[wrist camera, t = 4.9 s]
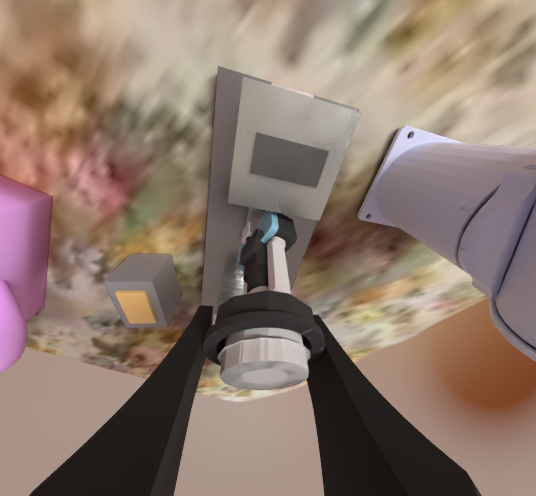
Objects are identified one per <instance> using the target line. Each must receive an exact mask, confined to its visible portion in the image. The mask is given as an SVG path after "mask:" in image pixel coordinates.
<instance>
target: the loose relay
mask: <svg viewBox="0 0 536 496" xmlns="http://www.w3.org/2000/svg"><path fill="white" fill-rule="evenodd" d="M103 283H104V285H105V287H106V289H107V291H108V293H109V295H110V297H111V299H112V301H113V303H114V305H115V307H116V309H117V311H118V313H119V315H120V317H121V319H122V321H123V323H124V325H125V327H126V328H151V327H168V326H169V323H170V321H171V319H172V317H173V314H174V312H175V310H176V308H177V305H178V303H179V301H180V299H181V296H182V294H181V290H180V286H179V282H178V278H177V274H176V270H175V266H174V262H173V258H172V254H130V255H129V256H128V257H127V258H126V259H125V260H124V261H123V262H122V263H121V264H120V265H119V266H118V267H117V268H116V269H115V270H114V271H113V272H112V273H111V274H110V275H109V276H108V277H107V278H106V279H105V280H104V281H103Z"/></svg>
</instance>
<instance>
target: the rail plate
mask: <svg viewBox="0 0 536 496" xmlns="http://www.w3.org/2000/svg"><path fill="white" fill-rule="evenodd" d="M360 115H361V112H359V109H356V108H353V107H350V106H346V105H343V104H340V103H337V102H333V101H330V100H327V99H324V98H320V97H317V96H314V95H311V94H307V93H304V92H301V91H298V90H294V89H291V88H288V87H285V86H281V85H278V84H275V83H272V82H268V81H265V80H262V79H259V78H255V77H252V76H249V75H246V74H242V73H239V72H236V71H233V70H229V69H226V68H223V67H220V66H218V73H217V88H216V102H215V116H214V130H213V144H212V158H211V172H210V187H209V201H208V215H207V229H206V243H205V257H204V271H203V286H202V300H201V305H205V306H213V316H212V319H213V325H214V324H215V321H216V316H217V311H218V307H219V306H220V305H221V304H223V303H224V302H226V301H227V300H228V299H230V298H231V297H233V296H238V295H243V284H244V280H243V277H240V276H238V275H235V274H234V273H235V271H236V270H237V269H238V268H236V266H235V265H236V264H237V262H238V254H239V248H240V246H241V244H242V242H241V241H242V231H243V229H244V228H245V226H246V225H247V223H248V222H250V230H249V231H250V232H251V231H252V229H253V228H254V227H255V225H256V224H257V223H258V221H259V220H260V219H261V217H262V216H263V215H264V213H265V211H266V210H267V211H272V212H277V213H282V214H284V215H285V216H287V217H289V218H290V219H292V220H293V222H294V226H295V230H296V234H297V241H296V242H295V243H294V245H293V246H292V247H291V248H290V249H289V250H288V251H287V252H286V253H285V254H286V261H287V271H288V277H289V284H290V291H291V289H292V287H293V284H294V281H295V279H296V276H297V273H298V271H299V268H300V265H301V263H302V260H303V257H304V255H305V252H306V250H307V247H308V244H309V242H310V239H311V236H312V234H313V231H314V228H315V226H316V223H317V221H320V218H321V216H322V213H323V211H324V208H325V205H326V203H327V200H328V198H329V195H330V192H331V190H332V187H333V185H334V182H335V180H336V177H337V174H338V172H339V169H340V167H341V164H342V161H343V159H344V156H345V154H346V151H347V148H348V146H349V143H350V141H351V138H352V135H353V133H354V130H355V128H356V125H357V122H358V120H359V117H360ZM246 230H247V228H246ZM246 230H245V231H246ZM239 273H243V271H239Z"/></svg>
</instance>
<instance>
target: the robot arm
mask: <svg viewBox="0 0 536 496" xmlns="http://www.w3.org/2000/svg"><path fill="white" fill-rule="evenodd" d="M409 132H411V135H410V137H409V138H408V137H407V136H408V133H409ZM368 214H369V216H368V217H367V218H366V216H367V215H368ZM357 216H358V218H359V219H360V220H363V221H368V222H373V223H378V224H383V225H388V226H393V227H397V228H400V229H402V230H403V231H405V232H406V233H408V234H409V235H411V236H412V237H414V238H415V239H417V240H418V241H420V242H421V243H423V244H424V245H426V246H427V247H429V248H430V249H432V250H433V251H435V252H436V253H438V254H439V255H441V256H442V257H444V258H445V259H447V260H448V261H450V262H451V263H453V264H454V265H456V266H457V267H459V268H460V269H462V270H464V271H465V272H466V273H468V274H469V275H470V276H471V277H472V280H473V282H472V286H474V287H475V288H477V289H478V290H479V291H481V292H482V293H484V294H485V295H487V296H488V297H489V298H491V301H490V305H489V311H490V316H491V319H492V320H493V323H494V325H495V326H496V327H497V329H498V330H499V331H500V333H501V334H502V335H503V336H504V337H505V338H506V339H507V340H508V341H509V342H510V343H511V344H512V345H514V346H515V347H516V348H517V349H519V350H520V351H521V352H522V353H524V354H525V355H527V356H528V357H530V358H531V359H533V360H534V361H536V147H520V146H502V145H484V144H465V143H462V142H459V141H456V140H452V139H449V138H446V137H443V136H439V135H436V134H433V133H430V132H426V131H423V130H420V129H416V128H413V127H410V126H403V127H401V128H400V129H399V130H398V131H397V133H396V135H395V137H394V139H393V141H392V144H391V146H390V148H389V150H388V152H387V154H386V156H385V158H384V160H383V162H382V164H381V166H380V168H379V171H378V173H377V175H376V177H375V179H374V181H373V183H372V185H371V187H370V189H369V191H368V193H367V195H366V198H365V200H364V202H363V204H362V206H361V208H360V210H359V212H358V215H357ZM212 316H213V306H205V305H201V306H199V308H198V310H197V312H196V314H195V316H194V317H193V319H192V321H191V322H190V324H189V325H188V327H187V328H186V330H185V331H184V333H183V334H182V336H181V337H180V338H179V340H178V341H177V343H176V344H175V345H174V347H173V348H172V349H171V351H170V352H169V353H168V355H167V356H166V357H165V358H164V360H163V361H162V362H161V363H160V365H159V366H158V367H157V368H156V369H155V371H154V372H153V373H152V374H151V375H150V377H149V378H148V379H147V380H146V381H145V382H144V383H143V385H142V386H141V387H140V388H139V389H138V390H137V391H136V392H135V393H134V394H133V395H132V396H131V398H130V399H129V400H128V401H127V402H126V403H125V404H124V405H123V406H122V407H121V408H120V409H119V410H118V411H117V412H116V413H115V414H114V415H113V416H112V417H111V418H110V419H109V420H108V421H107V422H106V423H105V424H104V425H103V426H102V427H101V428H100V429H99V430H98V431H97V432H96V433H95V434H94V435H93V436H92V437H91V438H90V439H89V440H88V441H87V442H86V443H85V444H84V445H83V446H82V447H80V448H79V449H78V450H77V451H76V452H75V453H74V454H73V455H72V456H71V457H70V458H69V459H67V460H66V461H65V462H64V463H63V464H62V465H61V466H60V467H59V468H58V469H57V470H56V471H54V472H53V473H52V474H51V475H50V476H49V477H48V478H47V479H46V480H45V481H43V482H42V483H41V484H40V485H39V486H38V487H37V488H36V489H35V490H34V491H33V492H32V493H31V494H30V495H29V496H174V491H175V486H176V481H177V476H178V471H179V466H180V460H181V456H182V451H183V446H184V441H185V436H186V431H187V427H188V422H189V416H190V412H191V408H192V404H193V400H194V396H195V393H196V389H197V386H198V382H199V379H200V375H201V372H202V368H203V365H204V361H205V358H206V356H205V354H204V352H203V349H202V346H203V341H204V337H205V334H206V332H207V331H208V329H209V328H210V327H211V326H212ZM313 317H314V321H315V323H316V324H317V325H318V326H319V327H320V328H321V330H322V332H323V335H324V339H325V349H324V351H323V352H322V354H321V355H320V356H319V357H317V358H316V359H315V360H313V361H311V362H309V363H307V364H308V370H309V373H308V378H307V383H308V387H309V391H310V395H311V399H312V404H313V409H314V415H315V422H316V429H317V436H318V443H319V451H320V458H321V468H322V476H323V485H324V496H481V494H480V493H479V491H478V489H477V488H476V486H475V485H474V483H473V481H472V480H471V478H470V477H469V475H468V474H467V472H466V471H465V470H464V469H462V468H461V467H460V466H459V465H458V464H457V463H455V462H454V461H453V460H452V459H451V458H449V457H448V456H447V455H446V454H445V453H443V452H442V451H441V450H440V449H438V448H437V447H436V446H435V445H434V444H432V443H431V442H430V441H429V440H428V439H427V438H426V437H425V436H424V435H423V434H421V433H420V432H419V431H418V430H417V429H416V428H415V427H414V426H413V425H412V424H411V423H409V422H408V421H407V420H406V419H405V418H404V417H403V416H402V415H401V414H400V413H399V412H398V411H397V410H396V409H395V408H394V407H393V406H392V405H391V404H390V403H389V402H388V401H387V400H386V399H385V398H384V397H383V396H382V395H381V394H380V393H379V392H378V390H377V389H376V388H375V387H374V386H373V385H372V384H371V383H370V382H369V381H368V379H367V378H366V377H365V376H364V375H363V374H362V373H361V371H360V370H359V369H358V368H357V366H356V365H355V364H354V363H353V362H352V360H351V359H350V358H349V356H348V355H347V354H346V353H345V351H344V350H343V349H342V347H341V346H340V345H339V343H338V342H337V340H336V339H335V338H334V336H333V335H332V333H331V332H330V331H329V329H328V328H327V326H326V325H325V324H324V322H323V321H322V319H321V318H320V317H319V315H313Z"/></svg>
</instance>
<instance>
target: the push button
mask: <svg viewBox="0 0 536 496" xmlns="http://www.w3.org/2000/svg"><path fill="white" fill-rule="evenodd" d="M246 228H247V230H246ZM245 230H246V231H245ZM249 230H250V222H248V223H247V225H246V226H245V228H244V229H243V231H242V241H241V242H242V244H241V246H240V248H239V254H238V262H237V264H236V265H235V266H236V268H238V269H237V270H236V271H235V273H234V274H235V275H238V276H240V277H243V280H244V284H243V295H238V296H233V297H231V298H230V299H228V300H227V301H226V302H224V303H223V304H221V305H220V306H219V307H218V311H217V316H216V321H215V324H214V325H213V326H211V327H210V328H209V329H208V331H207V332H206V334H205V337H204V341H203V346H202V349H203V352H204V354H205V356H206V357H207V358H208V359H209V360H211V361H212V362H214V363H216V364H218V365H220V366H221V372H220V378H221V379H222V381H223V382H224V383H225V384H227V385H230V386H233V387H235V388H241V389H248V390H273V389H282V388H287V387H290V386H293V385H297V384H299V383H301V382H302V381H304V380H305V379H307V378H308V373H309V370H308V364H307V363H309V362H311V361H313V360H315V359H316V358H317V357H319V356H320V355H321V354H322V352H323V351H324V349H325V339H324V335H323V332H322V330H321V328H320V327H319V326H318V325H317V324H316V323H315V321H314V317H313V313H312V309H311V308H310V307H309V306H307V305H306V304H304V303H303V302H301V301H300V300H298V299H297V298H295V297H294V296H292V295H291V291H290V284H289V277H288V271H287V261H286V254H285V253H286V252H287V251H288V250H289V249H290V248H291V247H292V246H293V245H294V243H295V242H296V241H297V234H296V230H295V226H294V222H293V220H292V219H290V218H289V217H287V216H285V215H284V214H282V213H277V212H272V211H267V210H266V211H265V213H264V215H263V216H262V217H261V219H260V220H259V221H258V223H257V224H256V225H255V227H254V228H253V229H252V231H251V232H250V231H249ZM239 271H243V273H239Z"/></svg>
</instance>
